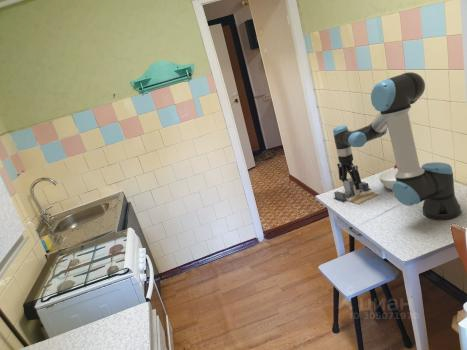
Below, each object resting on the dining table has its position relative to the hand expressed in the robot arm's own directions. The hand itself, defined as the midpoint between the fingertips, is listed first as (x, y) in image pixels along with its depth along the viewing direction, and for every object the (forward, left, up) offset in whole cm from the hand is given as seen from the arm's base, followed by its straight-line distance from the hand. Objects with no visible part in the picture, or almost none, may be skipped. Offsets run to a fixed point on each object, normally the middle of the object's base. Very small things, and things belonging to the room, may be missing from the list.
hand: (352, 193), depth 207 cm
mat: (-8, 0, -1) cm, 8 cm away
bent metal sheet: (0, 0, -1) cm, 1 cm away
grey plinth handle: (0, 0, -1) cm, 1 cm away
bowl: (-14, -20, -1) cm, 24 cm away
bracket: (-2, -32, -1) cm, 32 cm away
